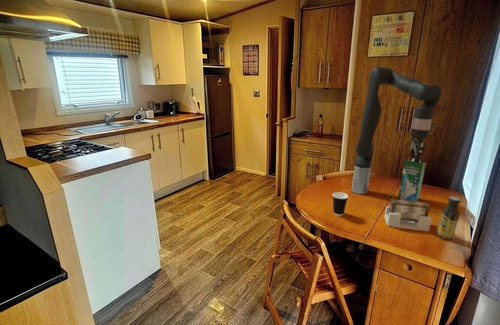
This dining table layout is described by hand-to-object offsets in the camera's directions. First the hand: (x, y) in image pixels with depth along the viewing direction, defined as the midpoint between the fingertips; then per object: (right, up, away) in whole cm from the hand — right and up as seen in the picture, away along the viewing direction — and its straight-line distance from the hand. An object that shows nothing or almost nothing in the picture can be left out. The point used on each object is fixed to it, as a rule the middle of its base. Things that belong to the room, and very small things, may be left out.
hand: (414, 160), depth 134 cm
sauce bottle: (+8, -36, -10) cm, 38 cm away
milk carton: (+14, -23, +28) cm, 39 cm away
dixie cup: (-34, -29, +12) cm, 46 cm away
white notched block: (-4, -32, +1) cm, 32 cm away
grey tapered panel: (-4, -29, 0) cm, 29 cm away
